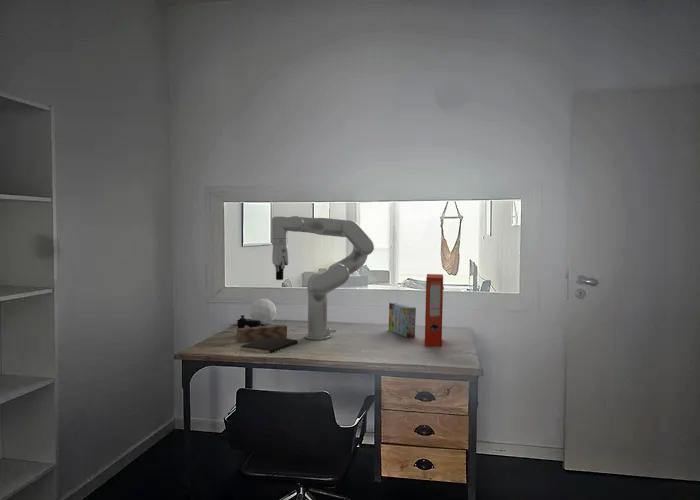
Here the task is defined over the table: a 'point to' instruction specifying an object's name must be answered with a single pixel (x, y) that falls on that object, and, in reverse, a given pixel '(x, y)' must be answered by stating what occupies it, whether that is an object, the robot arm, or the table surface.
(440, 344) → the file binder
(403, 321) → the snack box
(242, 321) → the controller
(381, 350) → the table surface
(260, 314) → the geometric sphere
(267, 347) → the hardcover book
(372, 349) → the table surface
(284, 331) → the brown wooden block
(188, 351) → the table surface
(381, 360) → the table surface
